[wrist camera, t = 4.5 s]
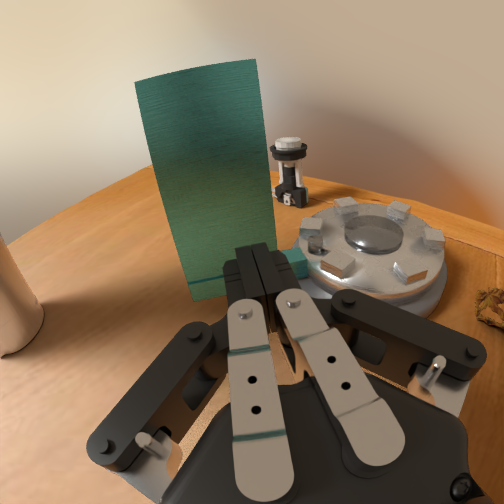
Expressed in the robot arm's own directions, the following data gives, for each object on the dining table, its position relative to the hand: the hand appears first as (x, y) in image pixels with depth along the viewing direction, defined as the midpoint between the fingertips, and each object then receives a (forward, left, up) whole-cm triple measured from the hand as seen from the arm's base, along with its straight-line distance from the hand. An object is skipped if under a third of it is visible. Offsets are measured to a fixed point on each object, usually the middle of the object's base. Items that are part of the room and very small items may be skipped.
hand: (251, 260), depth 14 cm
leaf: (+17, -17, -12) cm, 27 cm away
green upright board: (+12, +2, -9) cm, 15 cm away
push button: (+26, +16, -12) cm, 33 cm away
